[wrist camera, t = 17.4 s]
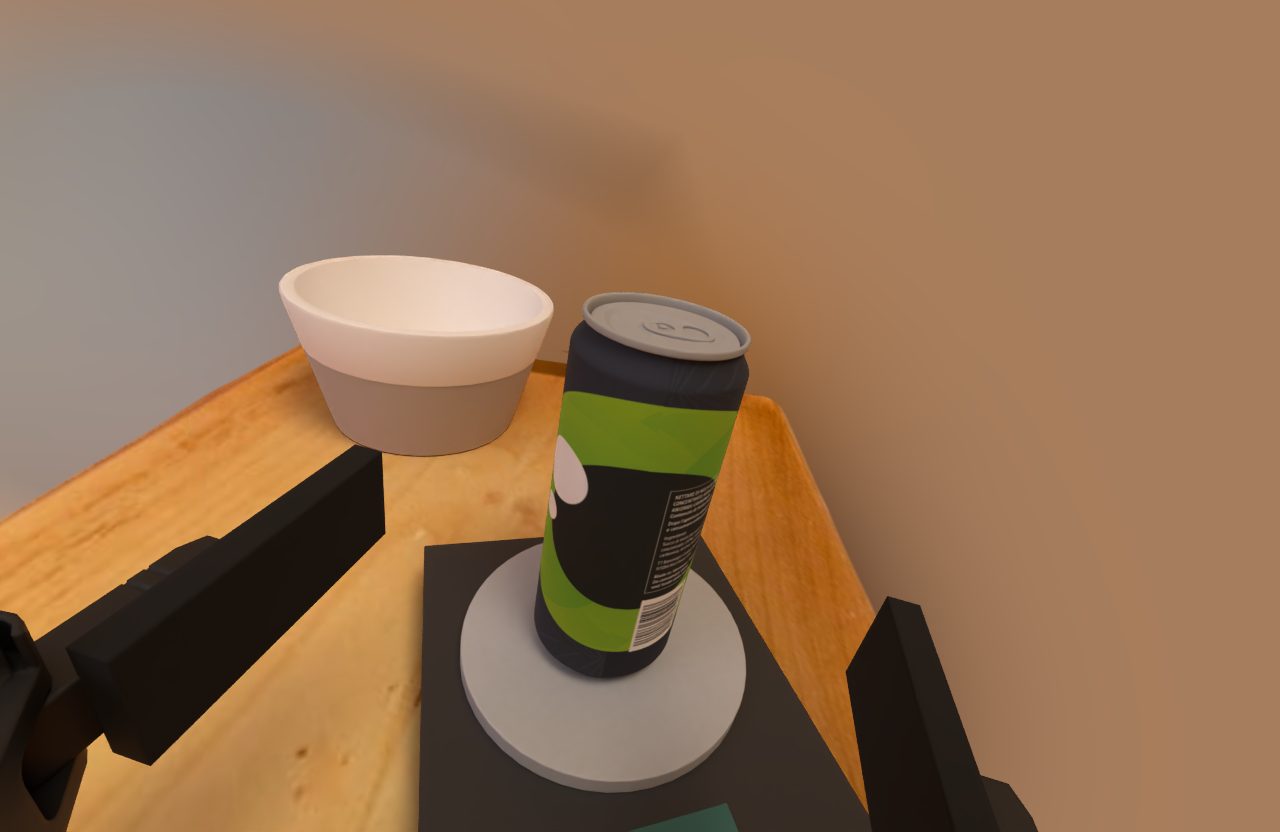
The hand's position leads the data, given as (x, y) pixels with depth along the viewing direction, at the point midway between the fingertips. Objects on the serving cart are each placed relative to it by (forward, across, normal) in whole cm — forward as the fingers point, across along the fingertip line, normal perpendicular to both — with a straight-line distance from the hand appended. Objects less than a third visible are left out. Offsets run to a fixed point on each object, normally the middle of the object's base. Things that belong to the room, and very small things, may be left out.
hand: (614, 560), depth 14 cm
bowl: (+27, -21, -14) cm, 37 cm away
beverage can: (+7, -1, -11) cm, 13 cm away
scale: (+6, 0, -14) cm, 15 cm away
